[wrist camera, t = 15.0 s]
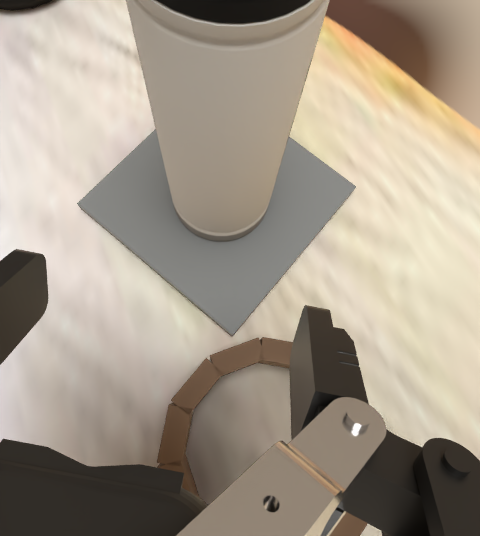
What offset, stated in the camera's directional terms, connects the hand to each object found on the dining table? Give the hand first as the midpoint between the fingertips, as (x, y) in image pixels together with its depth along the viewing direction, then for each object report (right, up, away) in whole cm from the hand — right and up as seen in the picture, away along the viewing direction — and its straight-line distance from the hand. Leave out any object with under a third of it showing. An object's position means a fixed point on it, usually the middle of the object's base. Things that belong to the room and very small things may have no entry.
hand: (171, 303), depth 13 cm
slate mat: (+1, +6, +15) cm, 16 cm away
